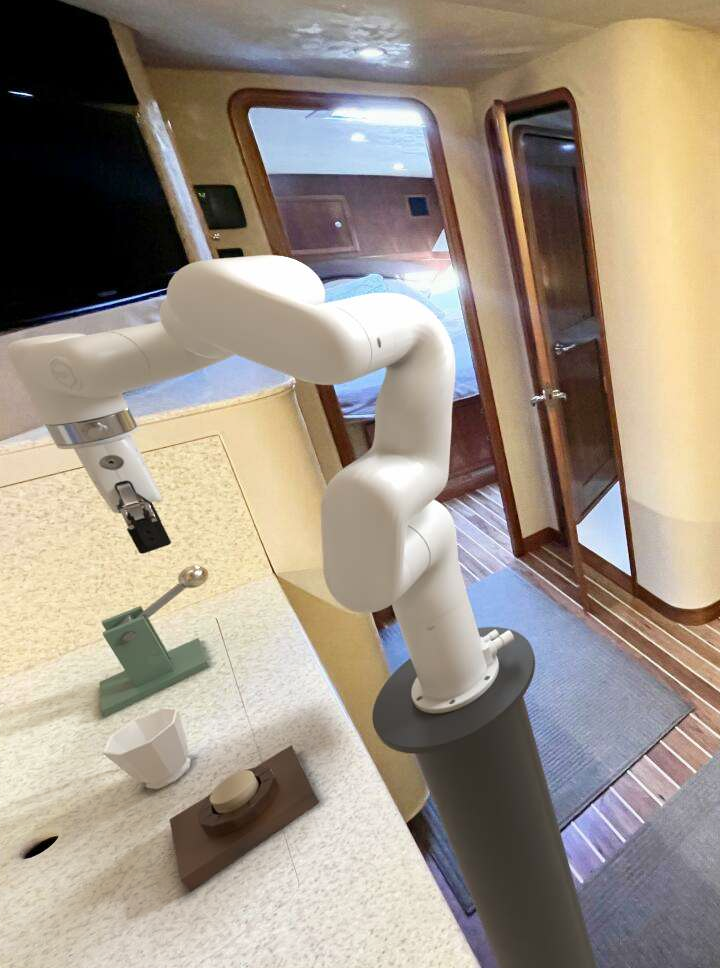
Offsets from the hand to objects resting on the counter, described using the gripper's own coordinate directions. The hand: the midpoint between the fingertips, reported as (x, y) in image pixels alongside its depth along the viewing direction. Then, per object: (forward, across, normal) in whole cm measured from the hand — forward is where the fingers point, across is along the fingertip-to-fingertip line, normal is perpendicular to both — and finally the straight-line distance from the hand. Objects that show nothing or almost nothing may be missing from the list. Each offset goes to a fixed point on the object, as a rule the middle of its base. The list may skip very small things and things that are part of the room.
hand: (151, 537), depth 77 cm
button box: (+26, -34, +3) cm, 42 cm away
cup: (+26, -16, +8) cm, 32 cm away
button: (+22, -34, +3) cm, 40 cm away
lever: (+16, +9, +2) cm, 18 cm away
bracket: (+26, +8, +7) cm, 28 cm away
